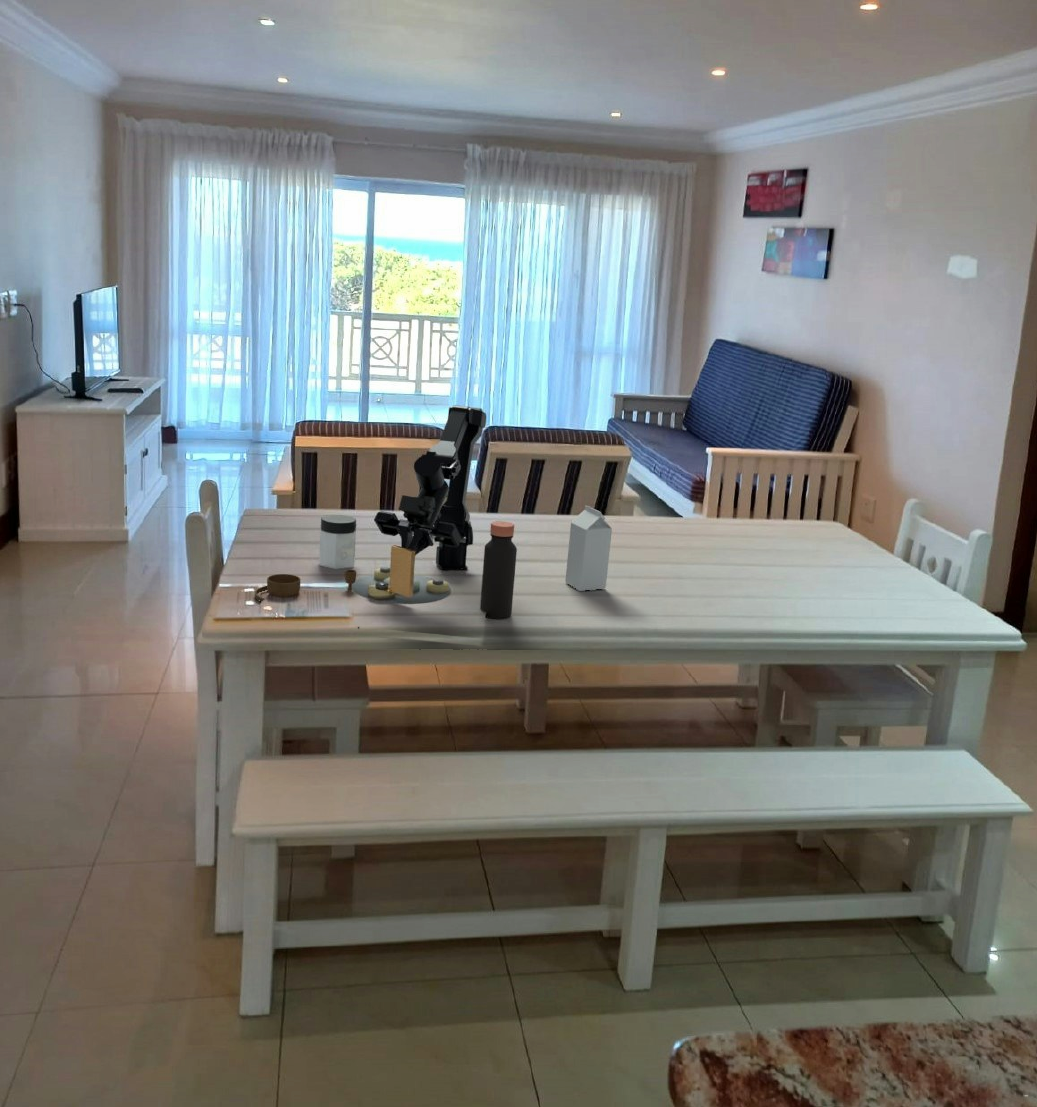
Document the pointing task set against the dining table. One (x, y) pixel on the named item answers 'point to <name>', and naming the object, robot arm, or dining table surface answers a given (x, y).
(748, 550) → the dining table surface
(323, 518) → the jar
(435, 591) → the plate
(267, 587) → the place setting
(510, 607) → the bottle
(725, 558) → the dining table surface
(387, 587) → the wooden slab
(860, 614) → the dining table surface
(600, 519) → the milk carton
